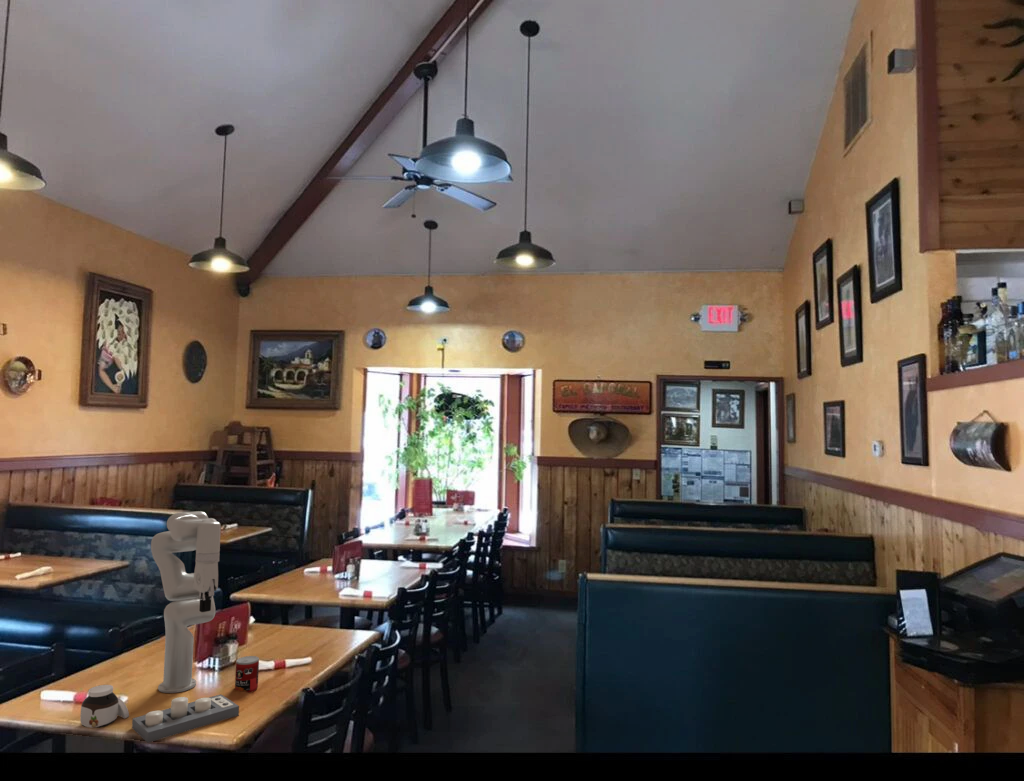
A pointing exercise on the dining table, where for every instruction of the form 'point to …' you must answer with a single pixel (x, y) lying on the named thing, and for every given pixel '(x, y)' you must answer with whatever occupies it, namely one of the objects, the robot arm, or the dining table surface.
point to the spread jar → (102, 707)
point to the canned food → (247, 674)
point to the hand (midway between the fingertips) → (205, 611)
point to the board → (186, 719)
